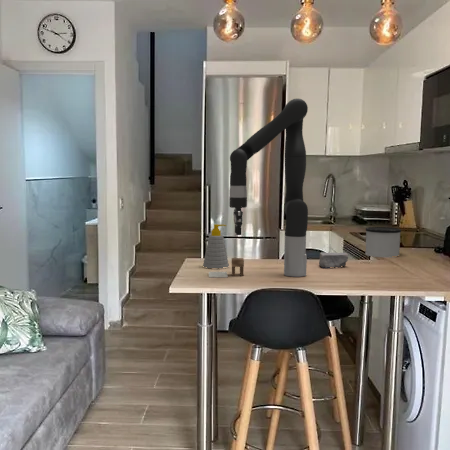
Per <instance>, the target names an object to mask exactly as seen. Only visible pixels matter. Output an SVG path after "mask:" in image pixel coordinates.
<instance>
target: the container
mask: <svg viewBox="0 0 450 450" xmlns="http://www.w3.org/2000/svg"><path fill="white" fill-rule="evenodd" d="M365 231H366V233H365V253H364V255H366V256H369V257H375V258H393V257H392V256H398V255H400V251H401V250H400V249H401V248H400V247H401V245H400V243H401V233H402V229H400V228H397V227H389V226H388V227H386V226H385V227H384V226H372V227H371V226H370V227H366V228H365Z"/></svg>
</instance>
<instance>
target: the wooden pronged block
mask: <svg viewBox="0 0 450 450" xmlns="http://www.w3.org/2000/svg"><path fill="white" fill-rule="evenodd" d="M236 268H239V275H241V276H240V277H244V272H245V271H244V268H245V260H244V258H243V257H231V276H232V277H236Z"/></svg>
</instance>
